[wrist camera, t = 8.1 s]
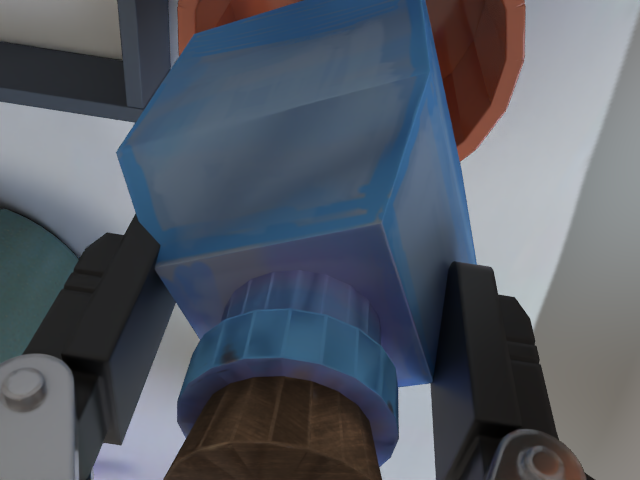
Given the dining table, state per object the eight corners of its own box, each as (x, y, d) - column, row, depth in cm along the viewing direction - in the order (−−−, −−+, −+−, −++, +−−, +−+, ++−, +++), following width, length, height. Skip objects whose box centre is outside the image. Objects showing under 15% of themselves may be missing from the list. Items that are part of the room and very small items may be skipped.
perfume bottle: (274, 210, 20) (177, 603, 11) (194, 34, 17) (-48, 399, 8) (461, 170, 19) (529, 591, 10) (417, -35, 15) (459, 323, 6)
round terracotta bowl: (223, -194, 21) (171, -172, 16) (539, -144, 21) (584, -106, 16) (218, 97, 29) (181, 174, 24) (455, 134, 29) (468, 219, 24)
